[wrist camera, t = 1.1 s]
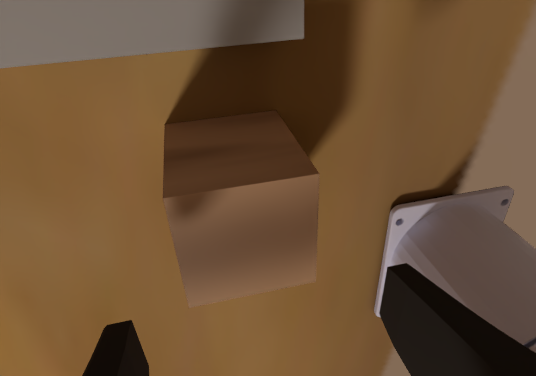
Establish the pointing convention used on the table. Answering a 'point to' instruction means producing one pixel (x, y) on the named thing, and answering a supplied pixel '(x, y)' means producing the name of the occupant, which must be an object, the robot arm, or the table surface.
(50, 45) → the grey box
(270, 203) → the walnut block
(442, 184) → the table surface
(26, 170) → the table surface
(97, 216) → the table surface
